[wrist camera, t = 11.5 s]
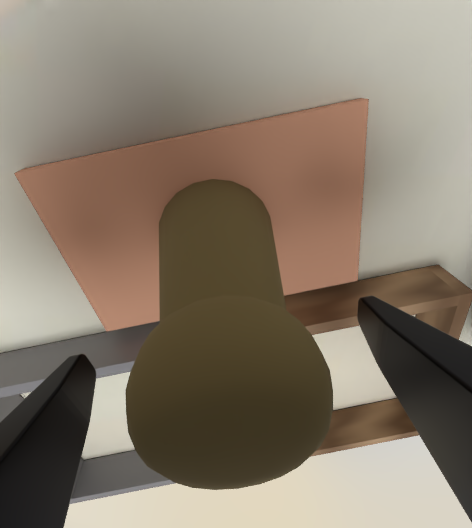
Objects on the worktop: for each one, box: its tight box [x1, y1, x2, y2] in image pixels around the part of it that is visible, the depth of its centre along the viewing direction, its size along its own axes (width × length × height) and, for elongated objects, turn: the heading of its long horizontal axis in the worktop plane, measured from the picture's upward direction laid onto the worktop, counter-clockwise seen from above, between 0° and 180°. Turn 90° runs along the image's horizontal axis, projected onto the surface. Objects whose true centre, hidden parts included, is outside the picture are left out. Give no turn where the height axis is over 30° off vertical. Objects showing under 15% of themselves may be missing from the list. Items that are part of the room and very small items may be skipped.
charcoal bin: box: [0, 321, 175, 504], centre depth 22 cm, size 16×16×3 cm
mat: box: [14, 98, 369, 331], centre depth 16 cm, size 16×10×1 cm, turn 100°
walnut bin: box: [284, 265, 472, 457], centre depth 22 cm, size 16×16×3 cm
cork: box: [126, 179, 333, 490], centre depth 11 cm, size 6×6×11 cm
